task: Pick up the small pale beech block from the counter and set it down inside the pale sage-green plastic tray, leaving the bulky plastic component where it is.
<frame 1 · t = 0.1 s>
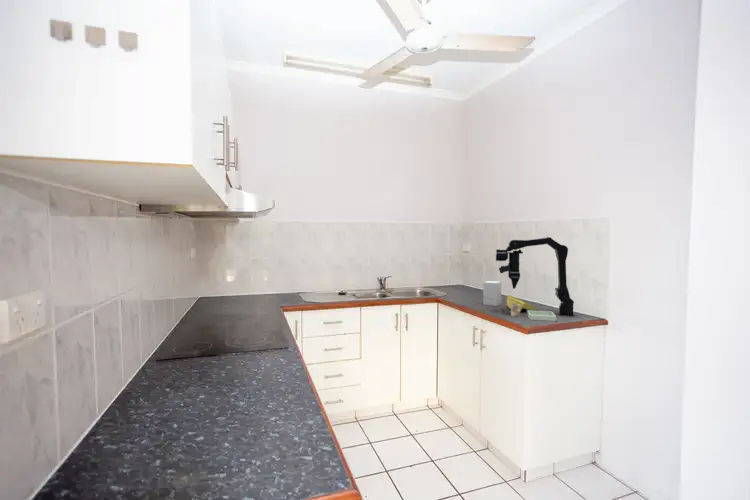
hand: (513, 287, 217), 15 cm above the table, tool pointing down, fingers open, 9 cm apart
plastic component: (519, 309, 226), on the table
beech block: (515, 315, 210), on the table
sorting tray: (541, 317, 203), on the table
supplement box: (492, 304, 241), on the table
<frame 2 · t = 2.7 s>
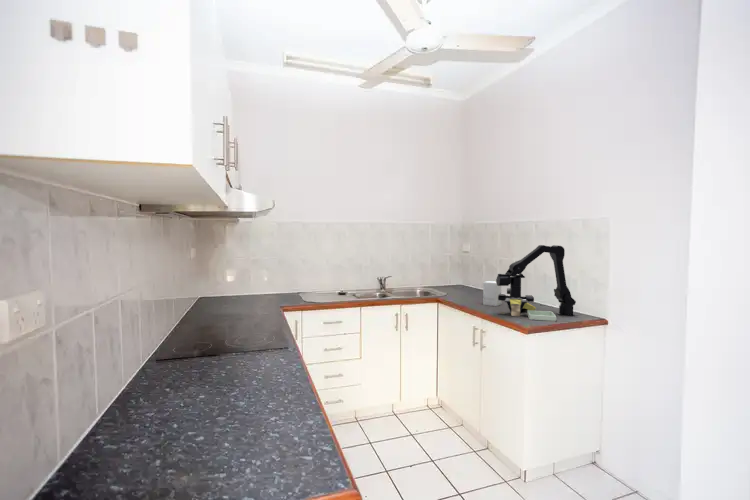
hand: (515, 313, 210), 1 cm above the table, tool pointing down, fingers closed on beech block, 4 cm apart
beech block: (515, 315, 210), on the table, touching gripper
when the fingers open (4 cm above the table, at t = 7.0 s): beech block drops 2 cm, resting on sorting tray.
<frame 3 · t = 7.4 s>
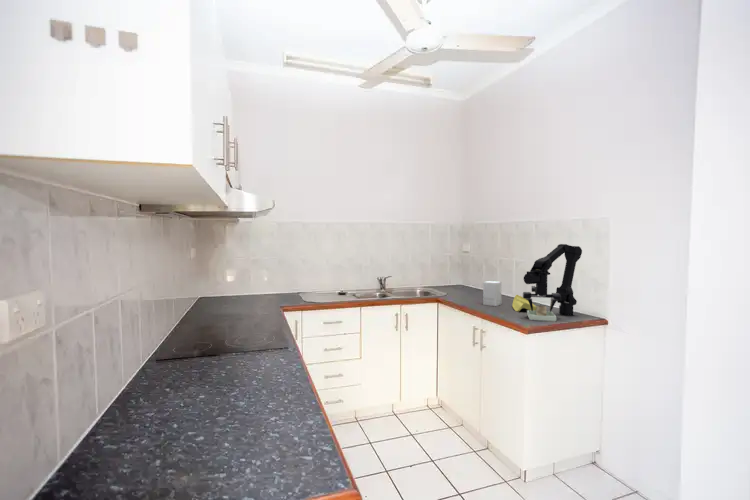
hand: (541, 311, 203), 4 cm above the table, tool pointing down, fingers open, 9 cm apart
plastic component: (524, 309, 226), on the table
beech block: (541, 317, 203), resting on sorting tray
everything else where it was.
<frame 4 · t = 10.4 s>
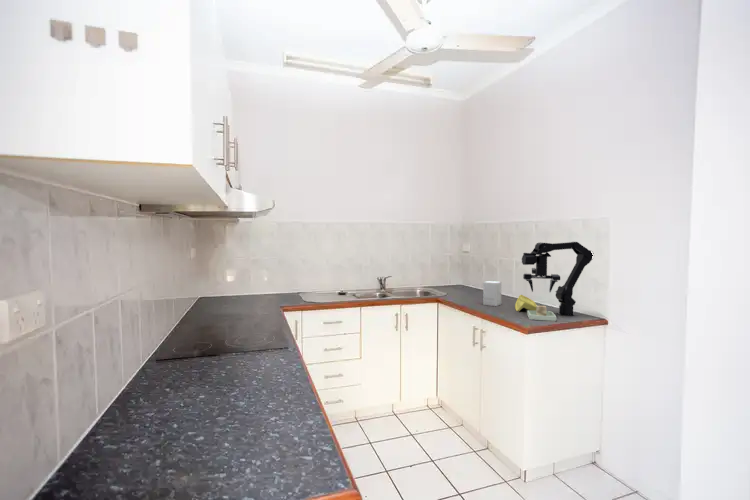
hand: (541, 292, 210), 13 cm above the table, tool pointing down, fingers open, 9 cm apart
plastic component: (526, 309, 226), on the table
everything else where it was.
at the end: beech block inside the target area on the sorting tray (0.0 cm from its centre), point 0.4 cm above the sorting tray's base; beech block tilted 0°; plastic component moved 4.0 cm from its start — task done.
